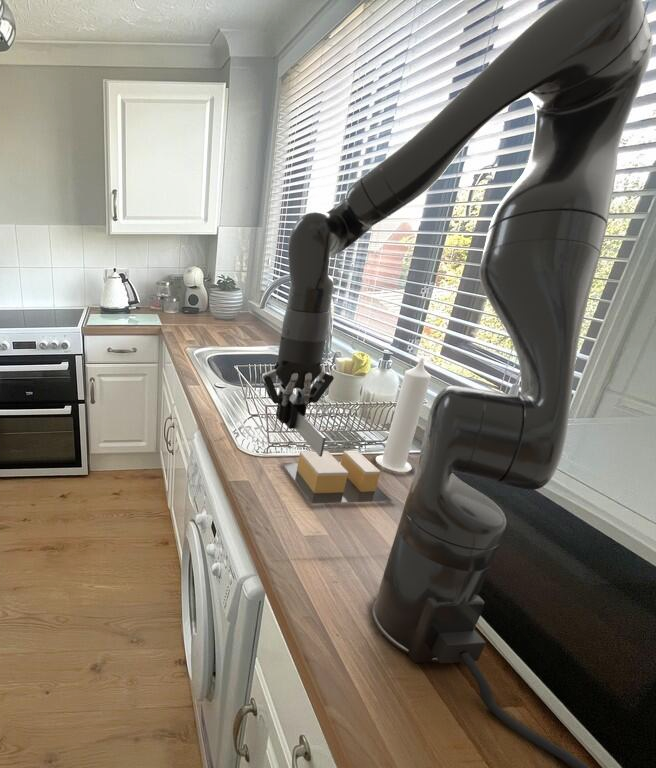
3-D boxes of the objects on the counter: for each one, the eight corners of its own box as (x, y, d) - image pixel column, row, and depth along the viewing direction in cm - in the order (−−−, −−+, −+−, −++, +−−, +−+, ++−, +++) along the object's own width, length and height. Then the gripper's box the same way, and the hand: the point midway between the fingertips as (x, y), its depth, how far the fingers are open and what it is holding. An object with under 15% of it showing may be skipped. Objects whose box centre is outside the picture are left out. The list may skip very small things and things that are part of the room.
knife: (277, 415, 82) (280, 391, 81) (288, 414, 83) (292, 391, 81) (313, 456, 68) (319, 429, 66) (327, 456, 68) (333, 429, 66)
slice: (375, 491, 81) (380, 471, 79) (360, 491, 81) (365, 471, 79) (352, 469, 88) (357, 450, 87) (339, 469, 88) (343, 450, 86)
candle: (367, 460, 93) (393, 354, 84) (391, 455, 96) (419, 351, 87) (393, 477, 87) (425, 364, 78) (418, 472, 89) (452, 362, 80)
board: (391, 504, 78) (392, 500, 78) (310, 507, 77) (311, 503, 77) (351, 464, 92) (351, 461, 91) (281, 466, 90) (281, 463, 90)
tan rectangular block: (343, 492, 80) (348, 472, 79) (314, 493, 80) (318, 473, 78) (323, 469, 88) (327, 450, 86) (296, 470, 87) (300, 451, 86)
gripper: (330, 329, 77) (315, 413, 84) (258, 329, 76) (248, 413, 83) (352, 339, 70) (333, 430, 77) (273, 339, 69) (260, 431, 76)
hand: (289, 421), depth 80 cm, fingers closed on knife, 2 cm apart
